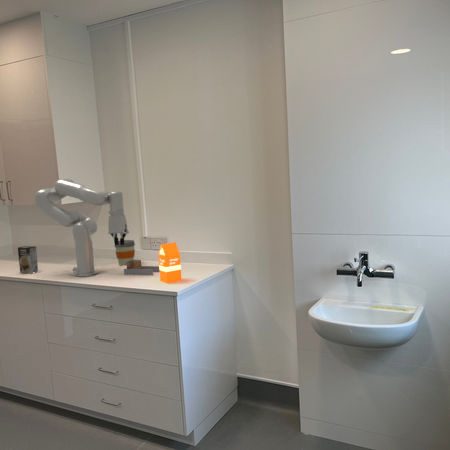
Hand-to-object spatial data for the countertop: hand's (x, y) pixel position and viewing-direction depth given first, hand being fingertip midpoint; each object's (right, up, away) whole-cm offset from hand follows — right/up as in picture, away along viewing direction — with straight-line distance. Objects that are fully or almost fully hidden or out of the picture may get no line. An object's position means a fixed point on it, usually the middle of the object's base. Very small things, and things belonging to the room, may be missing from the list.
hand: (119, 244), depth 269 cm
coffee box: (-61, -18, +21) cm, 67 cm away
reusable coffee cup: (-2, -14, +30) cm, 33 cm away
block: (+9, -16, -1) cm, 18 cm away
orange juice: (+32, -18, -22) cm, 43 cm away
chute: (+14, -17, -3) cm, 22 cm away
